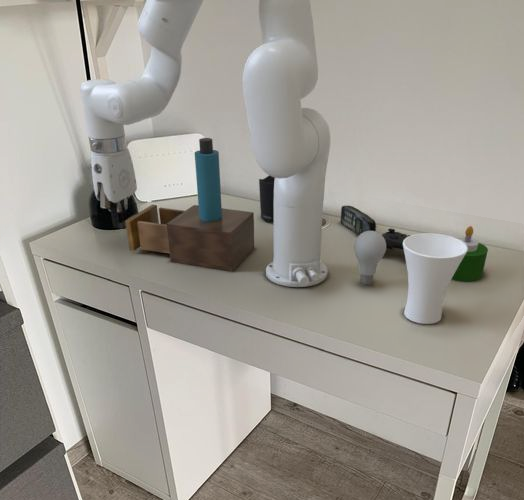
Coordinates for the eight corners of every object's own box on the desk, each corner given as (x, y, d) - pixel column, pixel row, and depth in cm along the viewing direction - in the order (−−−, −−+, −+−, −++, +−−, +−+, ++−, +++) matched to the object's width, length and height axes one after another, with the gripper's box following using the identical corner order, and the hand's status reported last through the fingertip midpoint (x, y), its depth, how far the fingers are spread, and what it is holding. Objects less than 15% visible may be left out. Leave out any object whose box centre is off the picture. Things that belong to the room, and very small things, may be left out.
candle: (454, 283, 108) (463, 236, 103) (432, 266, 115) (440, 221, 110) (490, 278, 110) (502, 231, 105) (467, 262, 117) (476, 216, 111)
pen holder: (256, 212, 144) (256, 174, 138) (291, 210, 145) (292, 172, 139) (263, 225, 136) (262, 185, 130) (299, 222, 137) (301, 182, 132)
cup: (393, 327, 95) (403, 255, 87) (392, 299, 103) (401, 231, 96) (455, 333, 93) (472, 259, 86) (449, 303, 102) (464, 234, 94)
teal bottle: (223, 220, 115) (219, 141, 106) (201, 222, 114) (195, 142, 105) (219, 213, 119) (215, 135, 110) (197, 215, 118) (191, 137, 109)
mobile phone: (339, 204, 134) (372, 223, 122) (349, 203, 135) (383, 221, 123) (338, 224, 137) (370, 244, 125) (348, 222, 138) (381, 242, 126)
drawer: (114, 247, 123) (109, 218, 119) (141, 230, 132) (137, 202, 128) (183, 258, 118) (180, 228, 114) (206, 239, 126) (204, 211, 123)
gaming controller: (360, 239, 116) (381, 217, 122) (360, 262, 120) (381, 240, 126) (423, 254, 109) (443, 230, 115) (421, 279, 113) (440, 255, 119)
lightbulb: (364, 274, 112) (369, 223, 106) (387, 285, 108) (394, 232, 102) (344, 283, 109) (348, 231, 103) (367, 294, 105) (373, 240, 99)
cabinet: (170, 261, 119) (166, 223, 114) (196, 240, 128) (193, 204, 124) (232, 271, 114) (230, 232, 109) (254, 249, 124) (253, 212, 119)
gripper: (102, 154, 109) (116, 241, 119) (142, 138, 121) (151, 218, 131) (71, 151, 112) (88, 236, 122) (113, 135, 123) (125, 214, 133)
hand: (121, 226), depth 126 cm, fingers closed
